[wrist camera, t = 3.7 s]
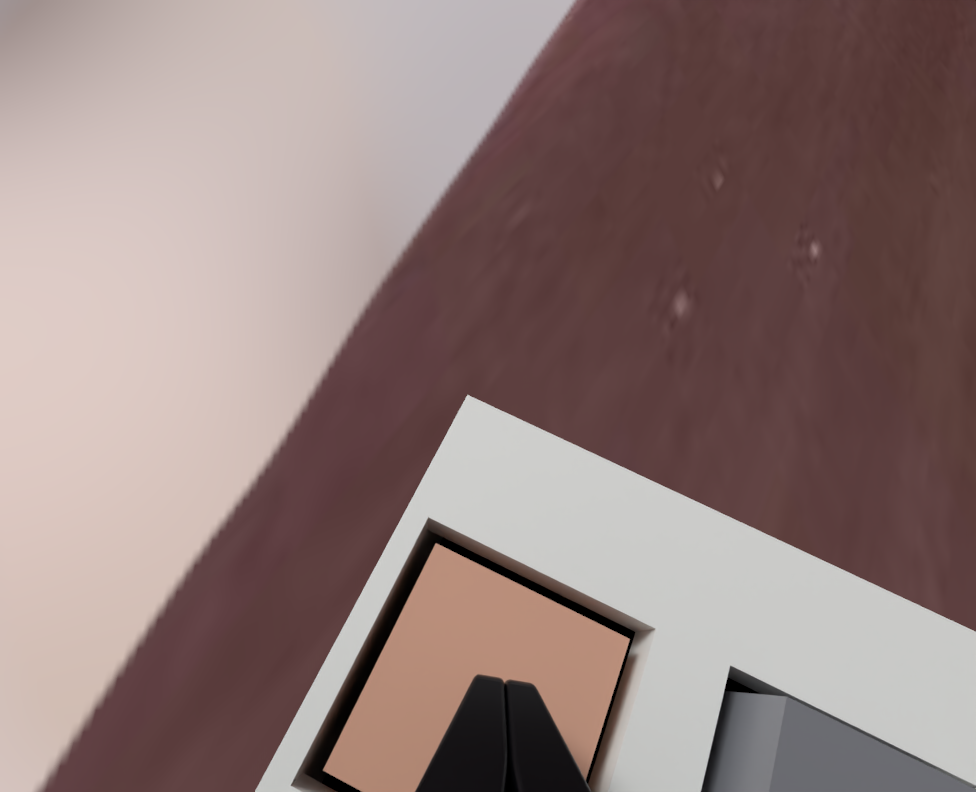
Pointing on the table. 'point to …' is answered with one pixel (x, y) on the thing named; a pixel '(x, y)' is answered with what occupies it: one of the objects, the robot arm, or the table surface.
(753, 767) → the charcoal button
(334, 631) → the table surface
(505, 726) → the robot arm
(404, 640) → the terracotta button
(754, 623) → the button console
